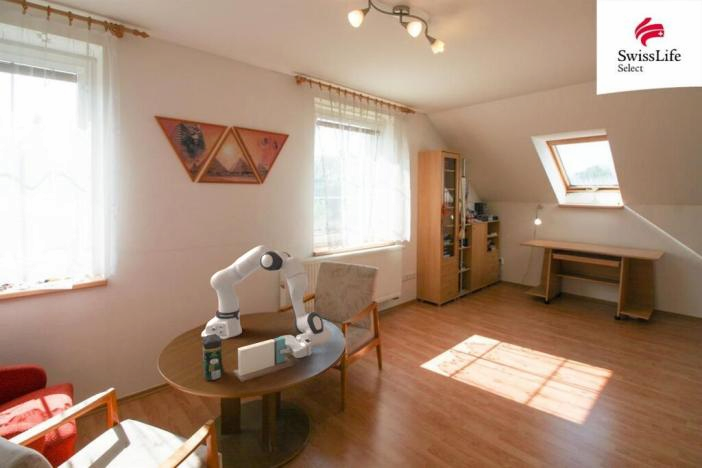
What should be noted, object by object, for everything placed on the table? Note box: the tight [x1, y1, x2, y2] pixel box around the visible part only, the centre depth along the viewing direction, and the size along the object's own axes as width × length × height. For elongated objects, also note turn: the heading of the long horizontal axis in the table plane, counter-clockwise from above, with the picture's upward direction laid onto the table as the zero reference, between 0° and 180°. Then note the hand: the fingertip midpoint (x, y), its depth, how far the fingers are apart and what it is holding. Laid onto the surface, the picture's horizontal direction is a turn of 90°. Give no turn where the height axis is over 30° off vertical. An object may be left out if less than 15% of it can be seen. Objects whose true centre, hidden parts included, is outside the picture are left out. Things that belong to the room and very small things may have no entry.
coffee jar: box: [202, 334, 223, 381], centre depth 156 cm, size 10×8×19 cm
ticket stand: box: [233, 338, 295, 383], centre depth 164 cm, size 26×10×13 cm, turn 128°
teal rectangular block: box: [273, 335, 286, 364], centre depth 168 cm, size 5×3×12 cm, turn 128°
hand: (277, 349), depth 168 cm, fingers closed on teal rectangular block, 3 cm apart
